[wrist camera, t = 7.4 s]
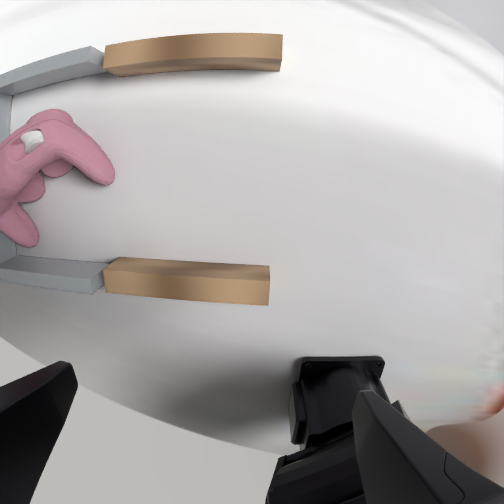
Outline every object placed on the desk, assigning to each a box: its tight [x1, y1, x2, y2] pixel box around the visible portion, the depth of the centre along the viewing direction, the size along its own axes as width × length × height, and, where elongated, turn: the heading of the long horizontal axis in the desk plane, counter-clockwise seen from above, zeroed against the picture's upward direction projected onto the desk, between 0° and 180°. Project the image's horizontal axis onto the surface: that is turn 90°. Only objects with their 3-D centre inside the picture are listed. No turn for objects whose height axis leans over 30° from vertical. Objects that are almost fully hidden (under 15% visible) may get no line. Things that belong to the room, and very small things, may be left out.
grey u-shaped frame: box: [0, 46, 111, 294], centre depth 17 cm, size 10×15×3 cm
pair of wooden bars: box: [103, 33, 283, 305], centre depth 17 cm, size 10×15×2 cm, turn 177°
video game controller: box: [0, 109, 115, 247], centre depth 16 cm, size 10×5×7 cm, turn 119°
